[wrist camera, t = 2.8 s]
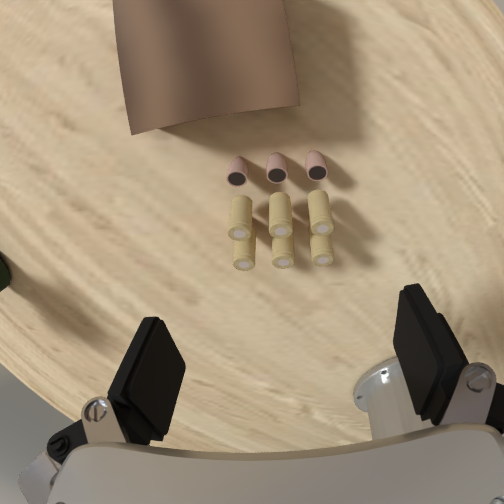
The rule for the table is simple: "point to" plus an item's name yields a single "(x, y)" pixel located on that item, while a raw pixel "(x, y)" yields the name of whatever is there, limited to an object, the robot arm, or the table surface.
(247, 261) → the ammunition
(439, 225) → the table surface
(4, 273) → the character mug
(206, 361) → the table surface
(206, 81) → the walnut block
